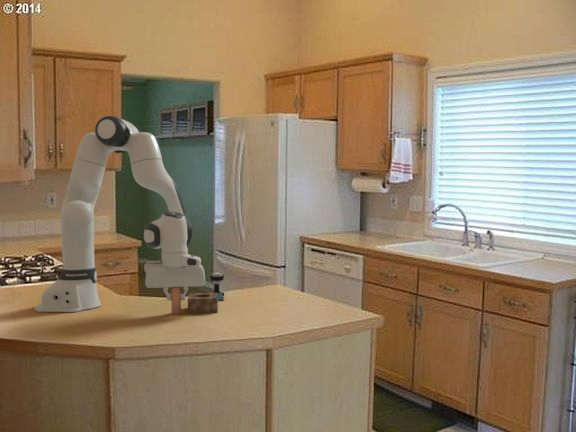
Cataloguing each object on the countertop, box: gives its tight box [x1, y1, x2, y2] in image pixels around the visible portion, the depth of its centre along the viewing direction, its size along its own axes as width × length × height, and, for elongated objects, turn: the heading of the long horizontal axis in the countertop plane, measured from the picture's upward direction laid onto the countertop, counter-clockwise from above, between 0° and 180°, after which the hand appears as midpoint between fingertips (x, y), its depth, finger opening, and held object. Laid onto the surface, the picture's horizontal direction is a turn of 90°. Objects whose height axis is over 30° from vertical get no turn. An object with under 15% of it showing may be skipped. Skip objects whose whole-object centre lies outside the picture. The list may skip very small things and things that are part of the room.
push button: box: [209, 272, 227, 301], centre depth 236 cm, size 7×5×10 cm
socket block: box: [187, 292, 219, 314], centre depth 219 cm, size 10×10×5 cm
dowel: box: [170, 287, 182, 315], centre depth 214 cm, size 3×3×9 cm
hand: (176, 299), depth 214 cm, fingers closed on dowel, 3 cm apart
